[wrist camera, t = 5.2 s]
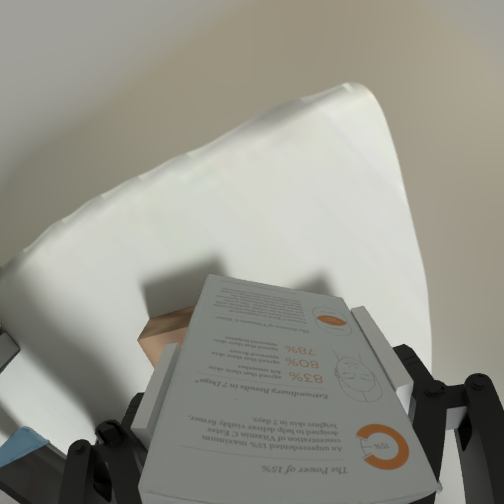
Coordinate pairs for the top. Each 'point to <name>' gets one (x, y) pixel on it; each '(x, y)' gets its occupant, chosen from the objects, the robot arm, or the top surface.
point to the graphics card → (7, 350)
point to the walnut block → (164, 332)
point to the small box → (280, 408)
